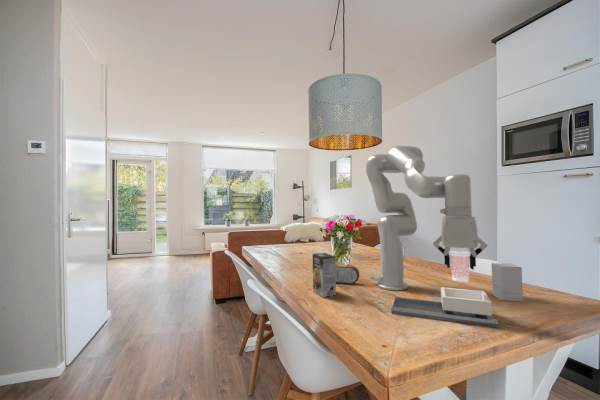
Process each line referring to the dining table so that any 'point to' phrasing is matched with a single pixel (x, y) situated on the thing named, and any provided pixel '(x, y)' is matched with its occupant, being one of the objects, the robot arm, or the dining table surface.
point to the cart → (466, 301)
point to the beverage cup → (459, 265)
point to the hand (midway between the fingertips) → (459, 267)
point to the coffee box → (324, 274)
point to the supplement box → (507, 281)
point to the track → (438, 312)
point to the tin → (346, 274)
